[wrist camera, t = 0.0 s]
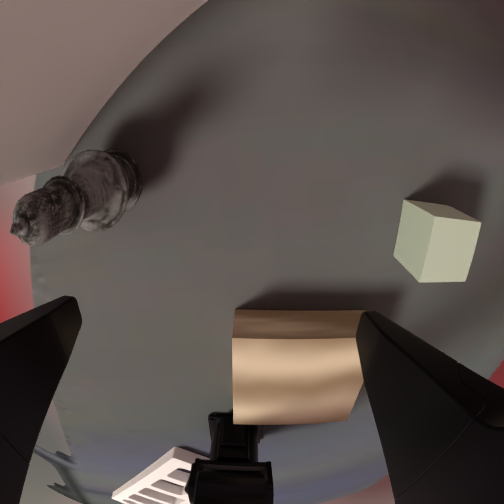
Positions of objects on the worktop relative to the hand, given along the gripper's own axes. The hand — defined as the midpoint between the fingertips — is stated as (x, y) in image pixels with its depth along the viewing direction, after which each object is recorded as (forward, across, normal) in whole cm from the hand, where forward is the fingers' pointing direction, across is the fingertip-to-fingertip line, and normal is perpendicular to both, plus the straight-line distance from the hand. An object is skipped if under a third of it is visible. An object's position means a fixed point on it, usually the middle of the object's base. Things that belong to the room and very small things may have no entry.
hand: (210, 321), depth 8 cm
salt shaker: (+15, +10, -2) cm, 18 cm away
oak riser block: (+15, -6, +15) cm, 22 cm away
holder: (+15, +13, +59) cm, 63 cm away
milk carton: (+15, +14, -16) cm, 26 cm away
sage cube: (+15, -16, +1) cm, 22 cm away
